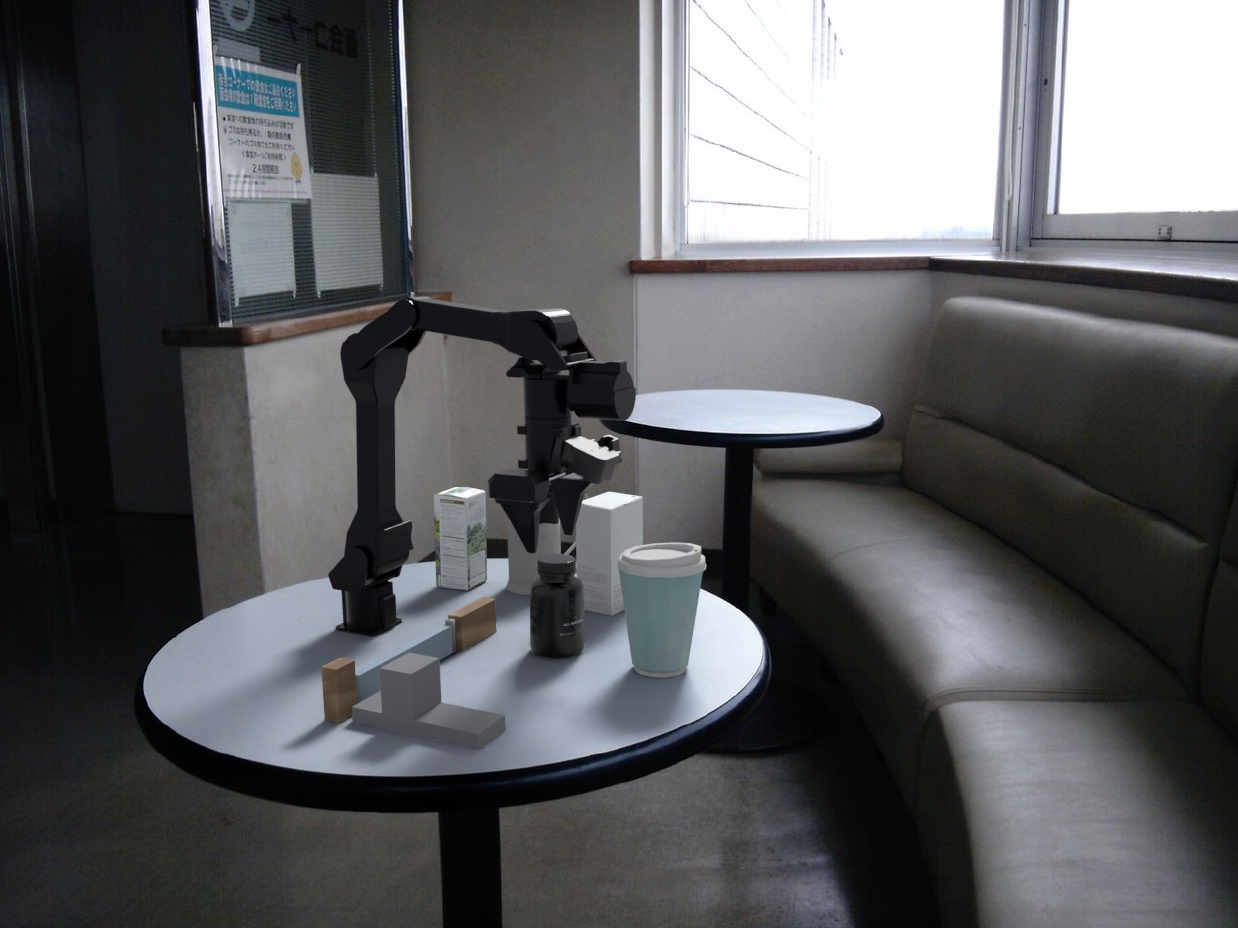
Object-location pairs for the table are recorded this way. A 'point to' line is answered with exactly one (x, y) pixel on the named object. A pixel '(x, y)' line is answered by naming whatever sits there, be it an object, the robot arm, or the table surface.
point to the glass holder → (548, 543)
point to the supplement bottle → (556, 608)
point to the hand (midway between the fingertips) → (550, 543)
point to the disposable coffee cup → (661, 604)
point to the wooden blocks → (340, 673)
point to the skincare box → (606, 547)
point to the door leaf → (429, 644)
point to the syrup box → (460, 538)
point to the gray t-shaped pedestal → (424, 706)
